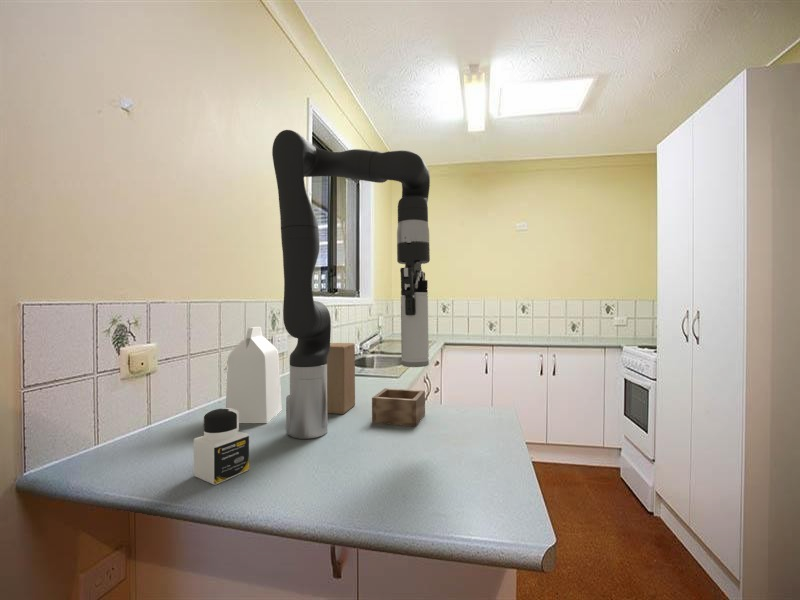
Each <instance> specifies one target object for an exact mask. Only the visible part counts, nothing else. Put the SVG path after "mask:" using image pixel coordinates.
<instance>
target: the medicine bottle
mask: <svg viewBox="0 0 800 600" xmlns="http://www.w3.org/2000/svg"><path fill="white" fill-rule="evenodd" d="M239 430H240V424H239V412H238V411H237V410H235V409H232V408H226V407H223V408H215V409H213V410H210V411H209V412H207V413H205V414H204V416H203V435H201V436H198V437H195V438H193V477H196V478H198V479H200V480H202V481H204V482H207V483H208V484H211V485H214V486H217V485H219V484H221V483H224V482H225V481H227V480H230V479H232V478H234V477H237V476H239V475H241V474H244V473H245V472H248V471H249V470H250V435H249V434H248V433H245V432H242V431H239Z"/></svg>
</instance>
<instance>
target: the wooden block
mask: <svg viewBox="0 0 800 600" xmlns="http://www.w3.org/2000/svg"><path fill="white" fill-rule="evenodd" d="M355 346H356V345H355V343H353V342H330V351H329V354H328V357H327V414H332V413H333V414H334V415H344V414H346V413H347V412H348V411H349V410H351V409H353V408H354V407H355V405H356V376H355V375H356V357H355V356H356V354H355V353H356V350H355V348H356V347H355Z"/></svg>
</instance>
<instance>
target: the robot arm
mask: <svg viewBox="0 0 800 600" xmlns="http://www.w3.org/2000/svg"><path fill="white" fill-rule="evenodd" d="M272 143H273V144H272V147H271V148H272V151H271V153H272V162H273V168H274V175H275V180H276V184H277V185H276V186H277V192H278V193H277V194H278V204H279V206H278V207H279V216H280V217H279V218H280V238H281V248H282V249H281V250H282V263H283V265H282V266H283V267H282V268H283V280H284V283H283V284H284V285H283V286H284V287H283V309H282V313H283V314H282V315H283V316H282V318H283V319H282V320H283V324H284V328H285V330H286V331H287V333H288V334H289V336H291V337H293V338H294V339H297V342H296V346H295V348H294V350H292V352H291V353H290V354H289V394H288V395H286V397H285V400H286V401H285V404H286V405H285V408H286V409H285V414H286V415H285V417H286V419H285V421H286V424H285V425H286V426H285V427H286V431H285V432H286V434H285V435H286V436H290V437H292V438H295V439H301V440H302V439H303V440H305V439H309V440H310V439H315V438H319V437H321V436H324V435H326V434H327V433H328V426H329V425H328V413H327V357H328V354H329V351H330V343H331V333H332V332H331V331H332V329H331V328H332V321H331V320H332V319H331V314H330V311H329V309H328V307H327V305H325V304H324V303H323V302H320V301H316V300H314V294H313V275H314V270H315V268H316V264H317V262H318V258H319V253H320V229H319V224H318V223H319V222H318V218H317V215H316V213H315V210H314V206H313V205H312V202H311V200H310V198H309V195H308V191H307V189H306V184H305V178H311V177H313V178H314V177H315V178H316V177H317V178H318V177H333V178H335V177H337V178H345V179H346V178H347V179H352V180H357V181H358V180H359V181H366V182H371V183H377V184H378V183H380V184H383V183H386V182H387V181H395V182H399V183H401V198H399V200H398V202H397V229H396V257H397V258H396V259H397V263H398V264H401V265H404V266H403V267H400V271H399V272H400V295H401V294H402V295H404V298H406V299H405V314H406V315H415V314H416V299H414V298H415V297H416V289H418V281H423V280H426V273H425V271H422V264H423V265H425V264H428V263H429V262H430V260H431V259H430V258H431V257H430V255H431V252H430V251H431V249H430V228H429V208H428V201H429V195H430V186H431V185H430V184H431V175H430V170H429V168H428V166H427V164H426V163H425V161H424V160H423V158H422V156H421V155H420V154H418V153H416V152H414V151H412V150H411V151H410V150H390V151H383V152H382V151H377V150H370V149H358V148H355V149H354V148H353V149H348V150H343V151H337V152H336V151H328V150H327V149H326V150H325V149H321V148H319V147H316V146H314V145H313V144H312V143H311V142H310V141H309V140H307V139H306V138H305V137H304V136H302V135H301V134H299V132H296V131H295V130H292V129H283V130H282V131H280V132H279V133H278V134H277V135H276V136H275V138H274V140H273V142H272ZM413 282H416V283H415V284H413ZM408 289H410V290H408Z"/></svg>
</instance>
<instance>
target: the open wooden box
mask: <svg viewBox="0 0 800 600" xmlns="http://www.w3.org/2000/svg"><path fill="white" fill-rule="evenodd" d="M424 414H425V415H426V391H425V390H423V389H422V390H421V389H420V390H419V389H404V388H403V389H401V388H400V389H399V388H383V389H382V390H381V391H379V392H378V393H376V394H375V395H373V396H372V397H371V423H372V424H381V425H382V424H384V425H395V426H408V427H417V426H418V425H419V424H418V423H420V422H421V421H422V419H423V418H424V416H425V415H424ZM423 415H424V416H423ZM422 417H423V418H422ZM420 420H421V421H420Z"/></svg>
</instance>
